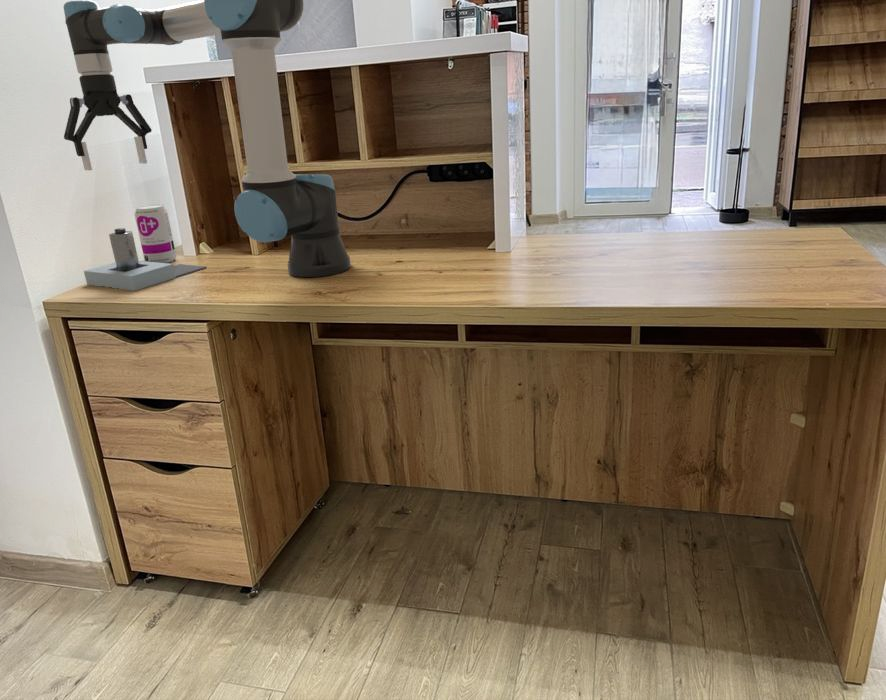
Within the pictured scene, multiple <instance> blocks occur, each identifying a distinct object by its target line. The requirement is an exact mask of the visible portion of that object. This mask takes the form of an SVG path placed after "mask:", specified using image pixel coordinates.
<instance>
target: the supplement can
mask: <svg viewBox="0 0 886 700" xmlns="http://www.w3.org/2000/svg"><path fill="white" fill-rule="evenodd" d="M168 213H169V212H168V210H167V209H166V207H165V206H164V204H150V205H142V206H139V207H136V208H135V213H134V218H135V223H136V227H137V231H138V236H139V241H140V246H141V250H142V254H143V255H142V256H143V259H144V261H146V262H157V263H167V264H170V263H172V262H175V259H176V258H177V254H176V249H175V248H176V247H175V244H174V239H173V234H172V230H171V229H172V228H171V223H170V219H169V214H168Z"/></svg>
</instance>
